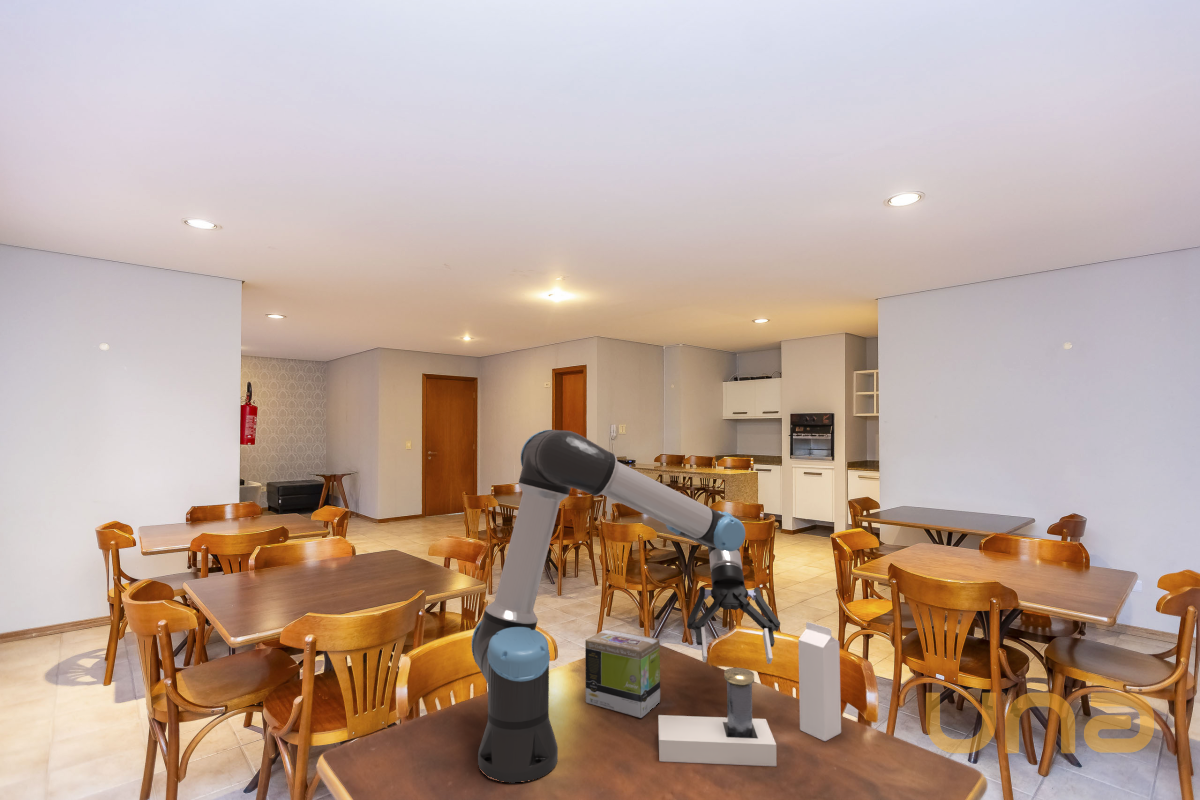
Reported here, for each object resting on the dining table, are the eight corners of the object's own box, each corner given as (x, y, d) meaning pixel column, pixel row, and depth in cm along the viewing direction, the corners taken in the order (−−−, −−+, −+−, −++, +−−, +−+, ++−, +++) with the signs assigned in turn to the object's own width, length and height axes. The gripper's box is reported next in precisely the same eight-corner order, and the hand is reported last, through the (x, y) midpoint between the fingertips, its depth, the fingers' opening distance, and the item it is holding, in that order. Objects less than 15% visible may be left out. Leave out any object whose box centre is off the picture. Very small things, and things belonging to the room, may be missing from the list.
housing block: (659, 761, 114) (659, 739, 115) (658, 734, 124) (658, 715, 125) (776, 766, 113) (776, 744, 113) (766, 738, 123) (765, 719, 123)
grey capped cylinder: (727, 758, 115) (726, 679, 116) (723, 742, 121) (722, 667, 122) (757, 759, 115) (756, 680, 116) (752, 743, 121) (751, 668, 122)
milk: (825, 742, 122) (823, 632, 122) (799, 730, 126) (797, 624, 127) (841, 732, 125) (839, 626, 126) (816, 721, 130) (814, 618, 131)
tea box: (661, 702, 139) (661, 637, 140) (640, 720, 131) (640, 651, 131) (606, 687, 147) (606, 626, 148) (583, 703, 139) (583, 638, 139)
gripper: (777, 580, 144) (794, 669, 128) (673, 578, 146) (677, 666, 130) (782, 563, 139) (800, 653, 123) (674, 561, 141) (678, 650, 125)
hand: (737, 660), depth 127 cm, fingers open, 13 cm apart
